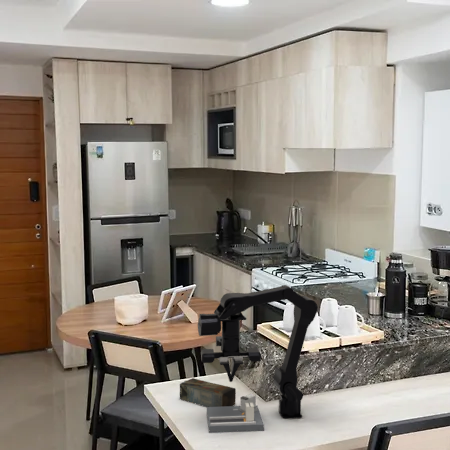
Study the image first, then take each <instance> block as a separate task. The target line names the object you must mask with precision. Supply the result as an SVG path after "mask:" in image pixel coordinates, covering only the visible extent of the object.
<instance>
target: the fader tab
mask: <svg viewBox="0 0 450 450" xmlns="http://www.w3.org/2000/svg"><path fill="white" fill-rule="evenodd" d="M245 419H246V422H247V421H254V405H253V403H245Z"/></svg>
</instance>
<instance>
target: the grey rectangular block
mask: <svg viewBox="0 0 450 450" xmlns="http://www.w3.org/2000/svg"><path fill="white" fill-rule="evenodd" d="M256 399H257V396H256V395H255V394H253V393H249V394H247V395H244V396H241V397H240V402H239V404H240V405H239V406H240V409H241V410H244V411H245V403H253V405H254V407H256V405H257V403H256Z"/></svg>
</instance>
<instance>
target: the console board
mask: <svg viewBox="0 0 450 450" xmlns="http://www.w3.org/2000/svg"><path fill="white" fill-rule="evenodd" d="M206 418H207V426H208V427H207V429H208V433H209V434H210V433H211V434H212V433H215V434H216V433H234V432H235V433H237V432H242V433H243V432H261V431H262V432H263V431H265V423H264V420H263V418H262V413H261V411H260V408H259V406H258V405H257V404H256V407H254V421H247V422H246V419H245V411H244V410H241V409H240V405H234V406H224V407H206Z"/></svg>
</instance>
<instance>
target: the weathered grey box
mask: <svg viewBox="0 0 450 450" xmlns="http://www.w3.org/2000/svg"><path fill="white" fill-rule="evenodd" d="M236 391H237V390H236V387H232V386H227V385H224V384H223V385H222V384H218V383H214V382H210V381H206V380H201V379H197V378H194V377H192V378H190V379H188V380H184V381H183V382H180V383H179V400H180V399H181V401H184V400H185V401H184V402H188V401H189V402H188V403H191V402H193V403H192V404H195V403H196V404H195V405H198V404H200V405H199V406H202V405H203V406H202V407H205V408H207V407H224V406H233V405H234V406H236V400H237V399H236V398H237V397H236V393H237V392H236Z"/></svg>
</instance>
